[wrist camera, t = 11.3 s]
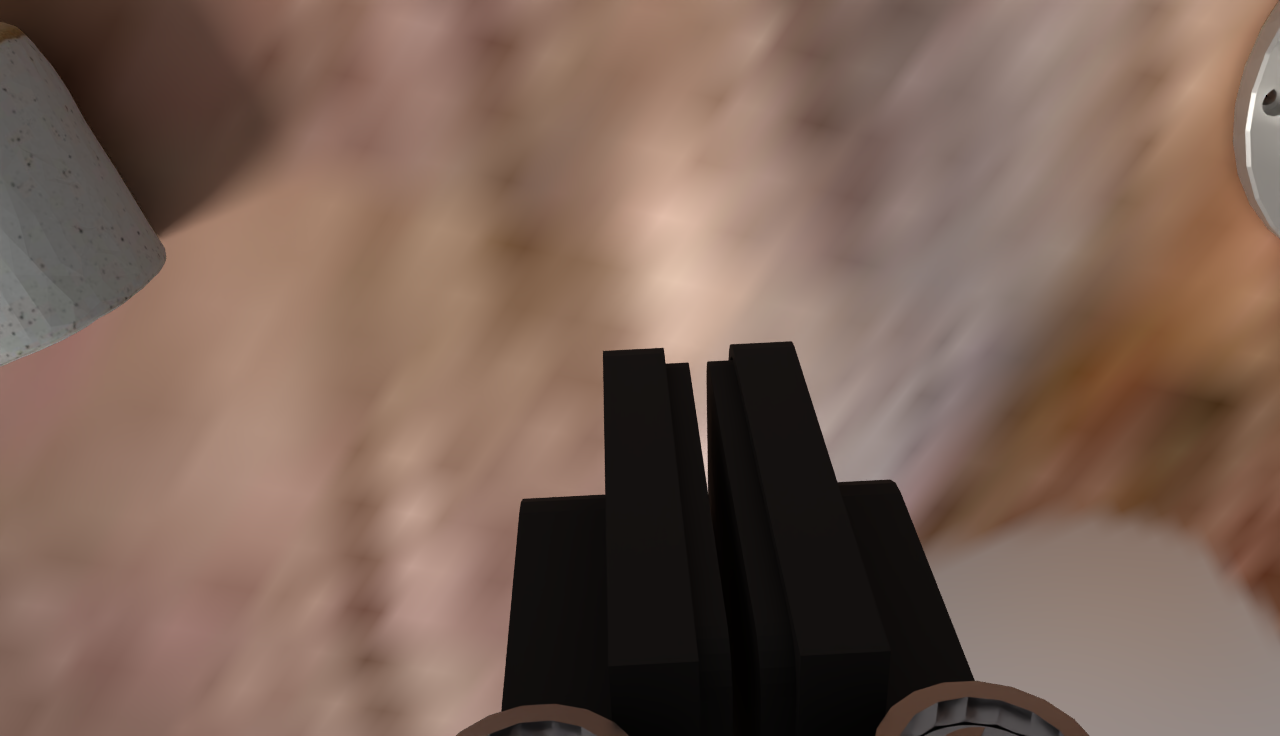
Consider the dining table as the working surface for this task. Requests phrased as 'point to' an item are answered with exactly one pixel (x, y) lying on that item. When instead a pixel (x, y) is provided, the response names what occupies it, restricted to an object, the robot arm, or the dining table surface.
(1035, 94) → the dining table surface
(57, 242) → the ceramic mug
